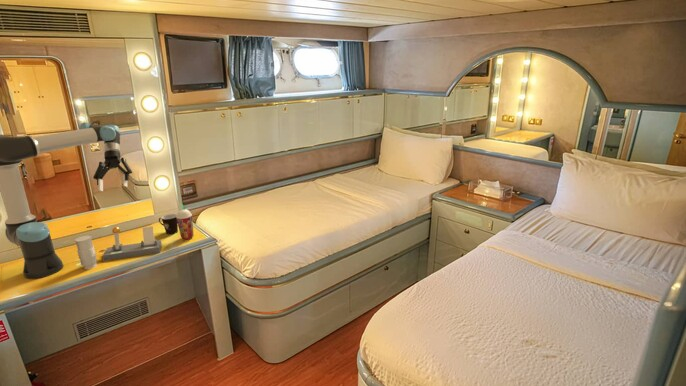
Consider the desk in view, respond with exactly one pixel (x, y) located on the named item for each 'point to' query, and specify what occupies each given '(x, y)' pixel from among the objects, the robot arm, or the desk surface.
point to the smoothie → (185, 224)
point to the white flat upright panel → (148, 235)
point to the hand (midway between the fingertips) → (113, 188)
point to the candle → (86, 252)
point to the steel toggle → (116, 236)
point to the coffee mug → (170, 223)
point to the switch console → (132, 250)
